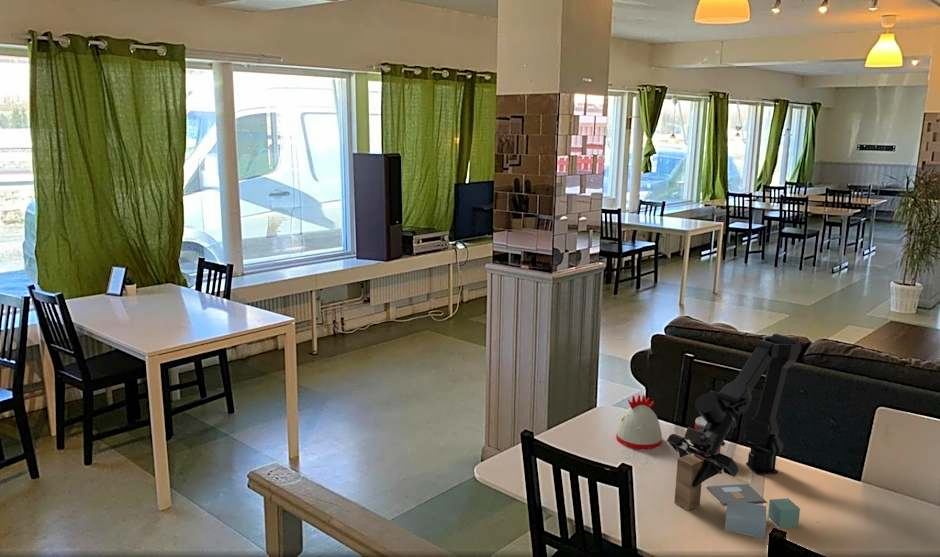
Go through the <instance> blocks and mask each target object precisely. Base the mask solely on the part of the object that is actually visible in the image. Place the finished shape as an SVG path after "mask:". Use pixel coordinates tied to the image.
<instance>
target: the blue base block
mask: <svg viewBox="0 0 940 557" xmlns="http://www.w3.org/2000/svg"><path fill="white" fill-rule="evenodd" d="M766 529H767V505H762V504H757V503H747V502H742V501H737V500H731V499H728V501H727V505H726V512H725V525H724V531H728V532H733V533H737V534H740V535H741V534H742V535H747V536H752V537H755V538H760V539H766V532H767V531H766Z"/></svg>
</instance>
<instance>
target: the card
mask: <svg viewBox="0 0 940 557" xmlns="http://www.w3.org/2000/svg"><path fill="white" fill-rule="evenodd" d="M706 489H707V490H708V492H710V494H712V496H713V497H714V498H715V497H716V498H717V499H718V500H719V501H720V502H719V501H718V500H717V499H716V498H715V499H716V500H717V501H718V502H719V503H720V504H721V505H722V506H725V505H726V506H727V501H728V499H731V500H737V501H742V502H747V503H752V504H757V503H766V501H767V500H766V499H765V498H764V497H763V496H762V495H760V494H759V493H758V492H757V491H756V489H754V488H753V486H751V485H750V484H749V483H741V484H725V485H724V484H722V485H711V486H710V485H709V486H706Z"/></svg>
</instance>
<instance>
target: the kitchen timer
mask: <svg viewBox="0 0 940 557" xmlns="http://www.w3.org/2000/svg"><path fill="white" fill-rule="evenodd" d="M650 399H651V398H649V397H647V398H646V396H645V394H644V393H643V394H642V396H641V395H640V394H638V395H637V399H636V398H635V395H632V398H631V401H630V399H629V398H628V399H627V401H628V404H629V408H628V409H626V411H625V412H624V413H623V414H622V416H621V418H620V421H619V423H618V425H617V428H616V434H615V435H616V437H615V438H616V441H617V442H618V443H619V444H621V445H622V446H625V447H627V448H630V449H633V450H635V449H636V450H647V451H648V450H653V449H657V448H659V447H660V446H661V445H662V443H663V435H662V430H661V429H662V428H661V424H660V421H659V419H658V416H657V414H656V413H655V412H654V410H652V407H653V405H654V404H655V402H654V400H652V401H651V402H650ZM649 403H650V404H649ZM658 446H659V447H658ZM656 447H657V448H656Z"/></svg>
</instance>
